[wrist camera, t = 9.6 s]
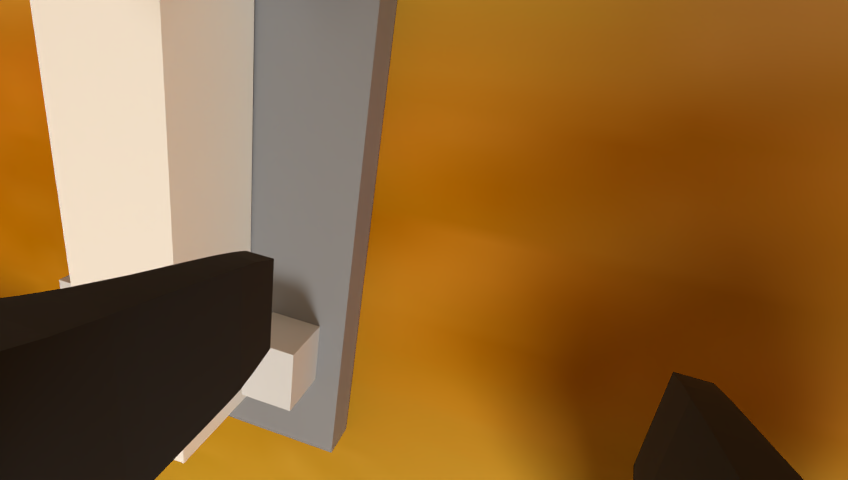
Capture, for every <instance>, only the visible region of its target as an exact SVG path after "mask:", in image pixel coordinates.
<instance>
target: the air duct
mask: <svg viewBox="0 0 848 480" xmlns="http://www.w3.org/2000/svg"><path fill="white" fill-rule="evenodd" d="M30 4H31V11H32V18H33V25H34V32H35V39H36V46H37V53H38V60H39V67H40V74H41V81H42V88H43V95H44V101H45V108H46V115H47V122H48V129H49V136H50V143H51V150H52V157H53V164H54V171H55V178H56V185H57V192H58V199H59V205H60V212H61V219H62V226H63V233H64V240H65V247H66V254H67V261H68V268H69V275H70V282H71V287H72V286H77V285H82V284H87V283H92V282H97V281H102V280H107V279H112V278H116V277H121V276H126V275H131V274H135V273H140V272H144V271H148V270H153V269H157V268H161V267H165V266H170V265H174V264H178V263H183V262H187V261H191V260H196V259H200V258H205V257H209V256H214V255H219V254H225V253H230V252H238V251H249V252H251V191H252V125H253V59H254V0H30ZM245 397H246V396H245V395H242V388H241V390H240V391H239V392H238V393H237V394H236V395H235V396H234V397H233V398H232V399H231V401H230V402H229V403H228V404H227V405H226V406H225V407H224V408H223V409H222V410H221V411H220V412H219V413H218V414H217V415H216V416H215V417H214V418H213V420H212V421H211V422H210V423H209V424H208V425H207V426H206V427H205V428H204V429H203V430H202V431H201V432H200V433H199V434H198V435H197V436H196V437H195V438H194V439H193V440H192V441H191V442H190V443H189V444H188V445H187V446H186V447H185V448H184V449H183V450H182V452H181V453H180V454H179V455H178V456H177V457H176V458H175V459H174V460H177V461H179V462H182V463H185V461H186V460H187V459H188V458H189V457H190V456H191V455H192V454H193V453H194V452H195V451H196V450H197V449H198V448H199V446H200V445H201V444H202V443H203V442H204V441H205V440H206V439H207V438H208V437H209V436H210V435H211V434H212V433H213V431H214V430H215V429H216V428H217V427H218V426H219V425H220V424H221V423H222V422H223V421H224V420H225V419H226V418H227V416H228V415H229V414H230V413H231V412H232V411H233V410H234V409H235V408H236V407H237V406H238V405H239V404H240V403H241V401H242V400H243V399H244V398H245Z"/></svg>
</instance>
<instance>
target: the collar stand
mask: <svg viewBox="0 0 848 480" xmlns="http://www.w3.org/2000/svg"><path fill="white" fill-rule="evenodd" d="M396 6H397V0H254V59H253V125H252V191H251V252H252V253H256V254H259V255H263V256H266V257H270V258H273V259H274V271H273V295H272V319H271V344H270V350H269V351H268V353H267V354H266V355H265V357H264V358H263V360H262V361H261V363H260V364H259V365H258V367H257V368H256V370H255V371H254V372H253V374H252V375H251V376H250V378H249V379H248V380H247V382H246V383H245V384H244V386H243V387H242V395H245V396H246V397H245V398H244V399H243V400H242V401H241V403H240V404H239V405H238V406H237V407H236V408H235V409H234V410H233V411H232V412H231V413H230V414H229V415H228V416H231V417H233V418H236V419H239V420H242V421H245V422H247V423H250V424H253V425H256V426H259V427H261V428H264V429H267V430H270V431H273V432H275V433H278V434H281V435H284V436H287V437H289V438H292V439H295V440H298V441H301V442H303V443H306V444H309V445H312V446H315V447H317V448H320V449H323V450H326V451H329V452H332V451H333V449H334V447H335V446H336V444H337V442H338V441H339V439H340V437H341V436H342V434H343V433H344V431H345V429H346V424H347V415H348V407H349V399H350V390H351V382H352V374H353V365H354V357H355V349H356V340H357V332H358V324H359V315H360V307H361V298H362V290H363V282H364V273H365V265H366V257H367V248H368V240H369V232H370V223H371V215H372V207H373V198H374V190H375V181H376V173H377V165H378V156H379V148H380V140H381V131H382V123H383V115H384V106H385V98H386V90H387V81H388V73H389V64H390V56H391V48H392V39H393V31H394V23H395V14H396ZM59 282H60V289H62V288H67V287H71V282H70V275H68V276H66V277H64V278H62V279H60V280H59Z"/></svg>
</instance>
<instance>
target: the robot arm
mask: <svg viewBox="0 0 848 480" xmlns="http://www.w3.org/2000/svg"><path fill="white" fill-rule="evenodd" d="M273 271H274V259H273V258H270V257H266V256H263V255H259V254H256V253H252V252H249V251H238V252H230V253H225V254H219V255H214V256H209V257H205V258H200V259H196V260H191V261H187V262H183V263H178V264H174V265H170V266H165V267H161V268H157V269H153V270H148V271H144V272H140V273H135V274H131V275H126V276H121V277H116V278H112V279H107V280H102V281H97V282H92V283H87V284H82V285H77V286H72V287H67V288H62V289H57V290H51V291H45V292H39V293H33V294H27V295H20V296H13V297H6V298H0V480H154V479H155V478H156V477H157V476H158V475H159V474H160V473H161V472H162V471H163V470H164V469H165V468H166V467H167V466H168V465H169V464H170V463H171V462H172V461H173V460H174V459H175V458H176V457H177V456H178V455H179V454H180V453H181V452H182V450H183V449H184V448H185V447H186V446H187V445H188V444H189V443H190V442H191V441H192V440H193V439H194V438H195V437H196V436H197V435H198V434H199V433H200V432H201V431H202V430H203V429H204V428H205V427H206V426H207V425H208V424H209V423H210V422H211V421H212V420H213V418H214V417H215V416H216V415H217V414H218V413H219V412H220V411H221V410H222V409H223V408H224V407H225V406H226V405H227V404H228V403H229V402H230V401H231V399H232V398H233V397H234V396H235V395H236V394H237V393H238V392H239V391H240V390H241V388H242V387H243V386H244V384H245V383H246V382H247V380H248V379H249V378H250V376H251V375H252V374H253V372H254V371H255V370H256V368H257V367H258V365H259V364H260V363H261V361H262V360H263V358H264V357H265V355H266V354H267V353H268V351H269V350H270V344H271V319H272V295H273ZM633 480H803V479H802V478H801V476H800V475H799V474H798V473H797V472H796V471H795V470H794V469H793V468H792V467H791V466H790V465H789V464H788V462H787V461H786V460H785V459H784V458H783V457H782V456H781V455H780V454H779V453H778V452H777V450H776V449H775V448H774V447H773V446H772V445H771V444H770V443H769V442H768V441H767V439H766V438H765V437H764V436H763V435H762V434H761V433H760V432H759V431H758V430H757V428H756V427H755V426H754V425H753V424H752V423H751V422H750V421H749V420H748V419H747V417H746V416H745V415H744V414H743V413H742V412H741V411H740V410H739V409H738V408H737V407H736V405H735V404H734V403H733V402H732V401H731V400H730V399H729V398H728V397H727V396H726V395H725V394H724V393H723V392H722V391H721V390H720V389H719V388H718V387H717V386H716V385H715V384H714V383H710V382H707V381H703V380H700V379H696V378H693V377H689V376H686V375H682V374H679V373H675V372H673V374H672V376H671V378H670V381H669V383H668V386H667V388H666V390H665V393H664V395H663V397H662V400H661V402H660V405H659V407H658V409H657V412H656V414H655V416H654V419H653V421H652V423H651V426H650V428H649V431H648V433H647V435H646V438H645V440H644V442H643V445H642V447H641V450H640V452H639V454H638V457H637V459H636V461H635V464H634V474H633Z"/></svg>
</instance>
